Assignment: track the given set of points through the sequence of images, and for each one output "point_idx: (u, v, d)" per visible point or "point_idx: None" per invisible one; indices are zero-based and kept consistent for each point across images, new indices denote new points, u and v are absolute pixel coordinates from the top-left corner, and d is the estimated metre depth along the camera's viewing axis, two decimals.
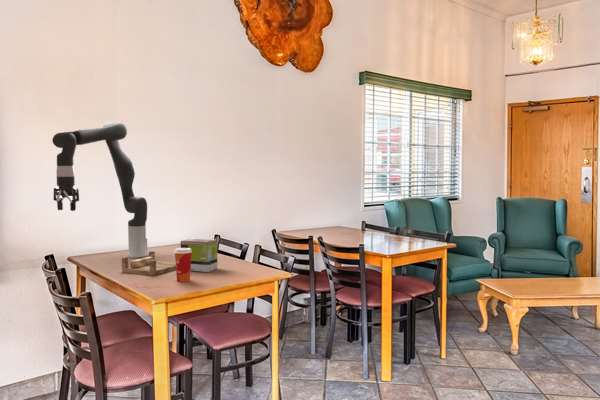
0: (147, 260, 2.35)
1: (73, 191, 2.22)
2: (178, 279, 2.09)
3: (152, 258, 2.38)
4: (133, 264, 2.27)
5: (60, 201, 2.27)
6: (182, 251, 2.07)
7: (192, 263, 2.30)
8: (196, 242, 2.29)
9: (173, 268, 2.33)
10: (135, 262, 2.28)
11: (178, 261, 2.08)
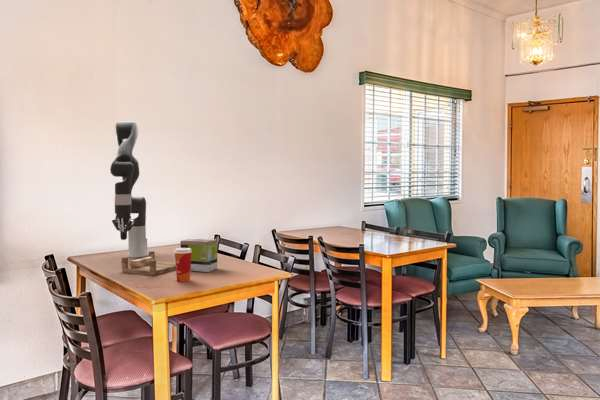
0: (147, 260, 2.35)
1: (129, 223, 2.28)
2: (178, 279, 2.09)
3: (152, 258, 2.38)
4: (133, 264, 2.27)
5: None
6: (182, 251, 2.07)
7: (192, 263, 2.30)
8: (196, 242, 2.29)
9: (173, 268, 2.33)
10: (135, 262, 2.28)
11: (178, 261, 2.08)
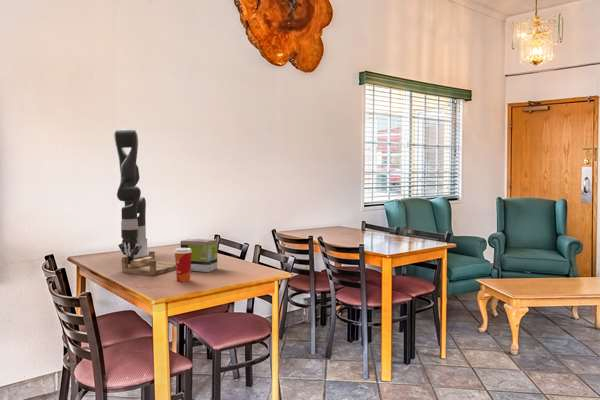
0: (147, 260, 2.35)
1: (136, 248, 2.27)
2: (178, 279, 2.09)
3: (152, 258, 2.38)
4: (133, 264, 2.27)
5: None
6: (182, 251, 2.07)
7: (192, 263, 2.30)
8: (196, 242, 2.29)
9: (173, 268, 2.33)
10: (135, 262, 2.28)
11: (178, 261, 2.08)
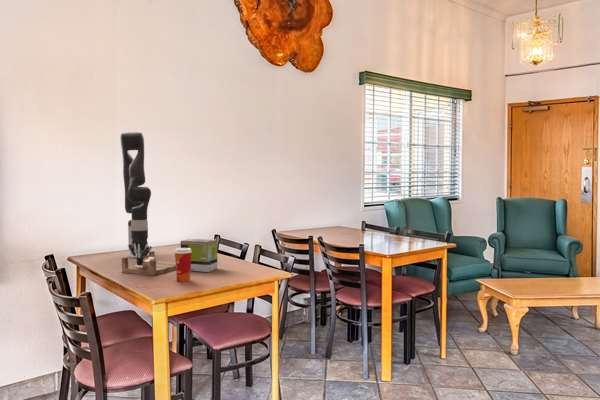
0: None
1: (146, 249, 2.25)
2: (178, 279, 2.09)
3: (154, 258, 2.39)
4: (146, 264, 2.27)
5: None
6: (182, 251, 2.07)
7: (192, 263, 2.30)
8: (196, 242, 2.29)
9: (173, 268, 2.33)
10: (148, 262, 2.27)
11: (178, 261, 2.08)
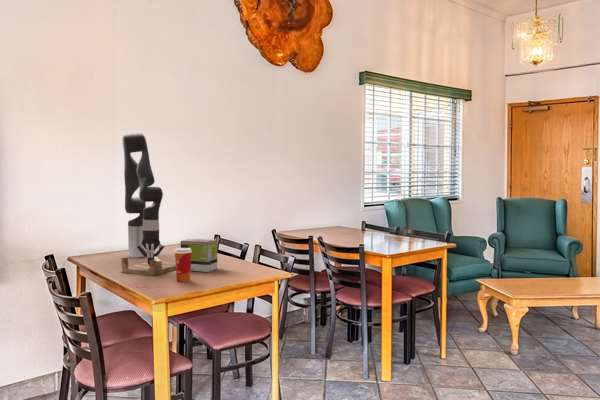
0: None
1: (161, 248, 2.27)
2: (178, 279, 2.09)
3: None
4: (160, 264, 2.28)
5: (150, 256, 2.29)
6: (182, 251, 2.07)
7: (192, 263, 2.30)
8: (196, 242, 2.29)
9: (173, 268, 2.33)
10: None
11: (178, 261, 2.08)
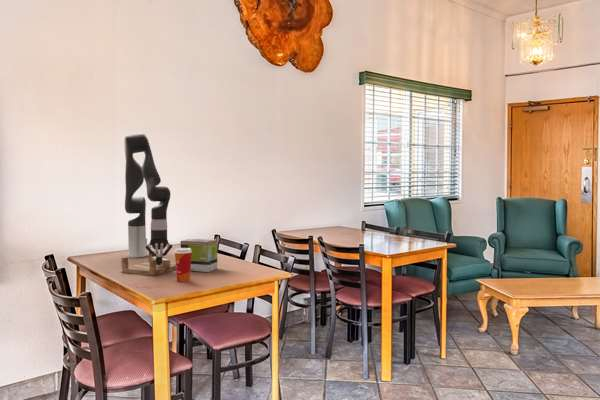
0: None
1: (170, 247, 2.30)
2: (178, 279, 2.09)
3: None
4: (169, 262, 2.31)
5: (158, 256, 2.30)
6: (182, 251, 2.07)
7: (192, 263, 2.30)
8: (196, 242, 2.29)
9: (173, 268, 2.33)
10: None
11: (178, 261, 2.08)
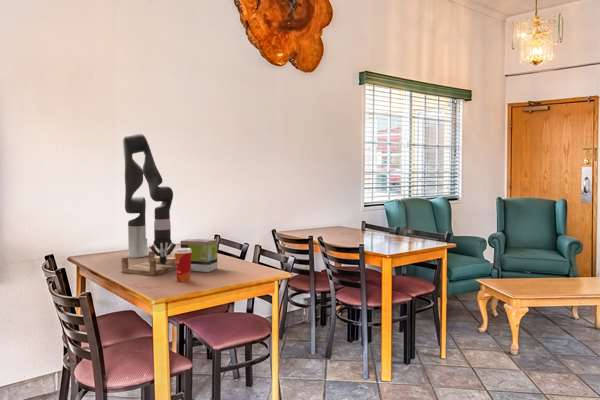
0: None
1: (173, 246, 2.33)
2: (178, 279, 2.09)
3: None
4: None
5: None
6: (182, 251, 2.07)
7: (192, 263, 2.30)
8: (196, 242, 2.29)
9: (173, 268, 2.33)
10: None
11: (178, 261, 2.08)
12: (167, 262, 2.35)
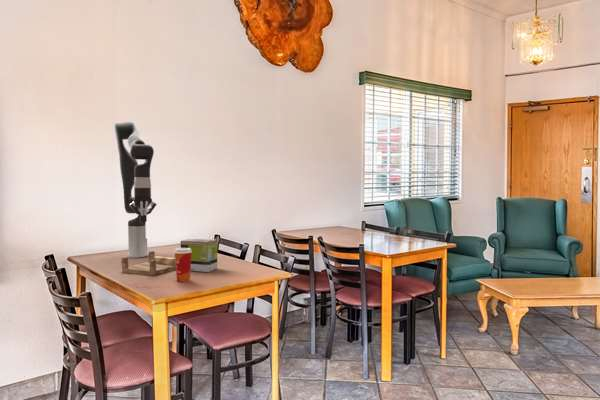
0: None
1: (154, 205, 2.31)
2: (178, 279, 2.09)
3: None
4: None
5: None
6: (182, 251, 2.07)
7: (192, 263, 2.30)
8: (196, 242, 2.29)
9: (173, 268, 2.33)
10: None
11: (178, 261, 2.08)
12: (167, 262, 2.35)
